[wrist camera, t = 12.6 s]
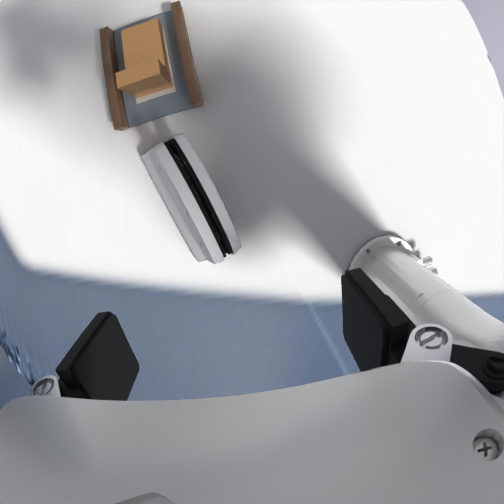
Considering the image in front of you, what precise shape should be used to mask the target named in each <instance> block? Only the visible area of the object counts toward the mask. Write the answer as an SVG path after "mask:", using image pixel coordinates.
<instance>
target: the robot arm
mask: <svg viewBox="0 0 504 504" xmlns="http://www.w3.org/2000/svg"><path fill="white" fill-rule="evenodd" d="M366 250H367V251H366ZM431 264H432V258H431V257H430V256H428V257H425V258H423V259H419V258H418V257H416V256H415V255H414V252H413V250H412V248H411V246H410V245H409V244H408V243H407V242H406V241H404V240H403V239H401V238H399V237H397V236H392V235H384V236H380V237H377V238H375V239H372V240H371V241H369V242H368V243H366V244H365V245H364V246H363V247H362V248H361V249H360V250H359V251H358V252H357V254H356V255H355V256H354V258H353V260H352V262H351V264H350V267H349V270H347V271H346V272H345V275H342V276H341V285H342V306H343V334H344V338H345V341H346V343H347V345H348V347H349V349H350V351H351V353H352V355H353V357H354V359H355V361H356V363H357V365H358V367H359V369H360V371H361V372H358V373H354V374H350V375H345V376H341V377H337V378H333V379H328V380H324V381H320V382H315V383H310V384H305V385H300V386H295V387H290V388H284V389H278V390H272V391H266V392H259V393H252V394H244V395H236V396H227V397H217V398H205V399H190V400H169V401H127V399H128V396H129V394H130V391H131V389H132V386H133V384H134V381H135V379H136V377H137V374H138V372H139V363H138V361H137V359H136V357H135V355H134V353H133V351H132V349H131V347H130V345H129V343H128V341H127V339H126V336H125V334H124V332H123V330H122V328H121V326H120V323H119V321H118V319H117V317H116V315H114V314H112V313H111V312H110V311H109V312H101V313H98V314H97V315H96V316H95V317H94V319H93V320H92V321H91V322H90V324H89V325H88V326H87V328H86V329H85V330H84V331H83V333H82V334H81V335H80V337H79V338H78V339H77V341H76V342H75V343H74V345H73V346H72V347H71V349H70V350H69V352H68V353H67V354H66V356H65V357H64V358H63V360H62V361H61V363H60V364H59V365H58V367H57V368H56V370H55V371H56V372H57V374H58V375H59V377H60V379H59V380H57V378H56V377H54V376H45V377H42V378H41V379H39V380H38V381H36V382H35V383H34V385H33V386H32V388H31V390H30V396H26V397H21V398H18V399H15V400H12V401H10V402H9V403H7V404H6V405H5V406H4V407H3V409H2V410H1V411H0V504H504V323H502V322H501V321H499V320H497V319H496V318H494V317H493V316H491V315H489V314H488V313H486V312H485V311H483V310H482V309H481V308H479V307H478V306H477V305H475V304H474V303H473V302H471V301H470V300H468V299H467V298H466V297H465V296H463V295H462V294H461V293H459V292H458V291H457V290H456V289H454V288H453V287H452V286H450V285H449V284H448V283H446V282H445V281H444V280H442V279H441V278H440V277H438V276H437V275H438V273H437V269H436V268H435V267H431V268H428V269H427V268H426V267H425V266H428V265H431Z"/></svg>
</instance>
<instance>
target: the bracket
mask: <svg viewBox="0 0 504 504" xmlns="http://www.w3.org/2000/svg"><path fill="white" fill-rule="evenodd" d="M121 36H122V45H123V54H124V61H125V70H122V71H120V72H117V73H115V75H116V82H117V89H119V90H121V91H123V92H125V93H127V94H129V95H131V96H133V97H135V98H140V97H143V96H146V95H149V94H152V93H155V92H158V91H162V90H165V89H168V88H172V87H173V83H172V78H171V72H170V67H169V61H168V56H167V50H166V44H165V38H164V32H163V26H162V25H161V23H160V21H159V19H158V18H156V19H153V20H150V21H147V22H144V23H141V24H138V25H135V26H132V27H130V28H127V29H124V30H122V31H121Z"/></svg>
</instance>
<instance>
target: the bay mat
mask: <svg viewBox="0 0 504 504" xmlns="http://www.w3.org/2000/svg"><path fill="white" fill-rule="evenodd" d="M156 18H158V19H159V21H160V23H161V25H162V26H163V32H164V38H165V44H166V50H167V56H168V61H169V67H170V72H171V78H172V83H173V87H172V88H168V89H165V90H162V91H158V92H155V93H152V94H149V95H146V96H143V97H140V98H135V97H133V96H131V95H129V94H127V93H125V92H123V91H122V93H123V98H124V104H125V109H126V114H127V119H128V124H129V128H131V127H133V126H136V125H139V124H142V123H145V122H148V121H151V120H154V119H157V118H160V117H163V116H166V115H169V114H173V113H176V112H180V111H183V110H187V109H190V108H193V106H192V105H191V100H190V96H189V91H188V87H187V82H186V78H185V73H184V68H183V63H182V59H181V54H180V49H179V44H178V39H177V34H176V29H175V24H174V19H173V14H172V11H169V12H165V13H162V14H159V15H156V16H152V17H149V18H147V19H144V20H141V21H138V22H135V23H133V24H130V25H128V26H125V27H123V28H120V29H118V30H115V31H114V40H115V48H116V55H117V62H118V69H119V72H120V71H122V70H125V61H124V54H123V45H122V36H121V31H122V30H124V29H127V28H130V27H132V26H135V25H138V24H141V23H144V22H147V21H150V20H153V19H156Z"/></svg>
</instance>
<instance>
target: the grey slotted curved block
mask: <svg viewBox="0 0 504 504" xmlns="http://www.w3.org/2000/svg"><path fill="white" fill-rule="evenodd" d="M141 158H142V160H143V162H144V164H145V166H146V168H147V170H148V172H149V174H150V176H151V178H152V180H153V182H154V184H155V186H156V187H157V189H158V191H159V193H160V195H161V197H162V199H163V201H164V203H165V204H166V206H167V208H168V210H169V212H170V214H171V215H172V217H173V219H174V221H175V223H176V225H177V226H178V228H179V230H180V232H181V234H182V235H183V237H184V239H185V241H186V242H187V244H188V246H189V248H190V250H191V251H192V253H193V255H194V257H195V258H196V260H197V261H198V262H201V261H205V260H209V261H210V262H212V263H214V264H216V263H218V262H221V261H224V257H226V253H227V254H235V253H236V252H237V251H238V250H239V249H240V248H241V247H242V246H241V243H240V240H239V238H238V235H237V233H236V230H235V228H234V225H233V223H232V221H231V219H230V217H229V214H228V212H227V210H226V208H225V206H224V204H223V202H222V200H221V198H220V196H219V194H218V191H217V190H216V188H215V186H214V184H213V182H212V180H211V178H210V176H209V174H208V173H207V171H206V169H205V167H204V165H203V163H202V162H201V160H200V158H199V157H198V155H197V153H196V151H195V150H194V148H193V147H192V145H191V143H190V142H189V140H188V139H187V137H186V136H185V134H183V133H182V134H178V135H174V136H171V137H170V138H168V139H167V140H165V142H164V143H163V142H162V141H161V142H160V143H158V144H157V145H155V146H154V147H153V148H151V149H150V150H149V151H148V152H146V153H145V154H144V155H142V156H141Z"/></svg>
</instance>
